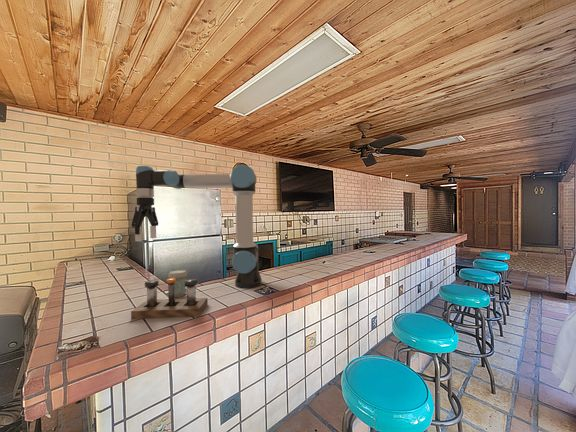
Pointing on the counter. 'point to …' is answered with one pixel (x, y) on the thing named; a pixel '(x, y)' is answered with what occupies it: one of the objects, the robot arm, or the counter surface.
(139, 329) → the counter surface
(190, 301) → the knob
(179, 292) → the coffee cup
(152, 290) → the knob
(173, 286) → the dark piece
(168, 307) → the mount board
